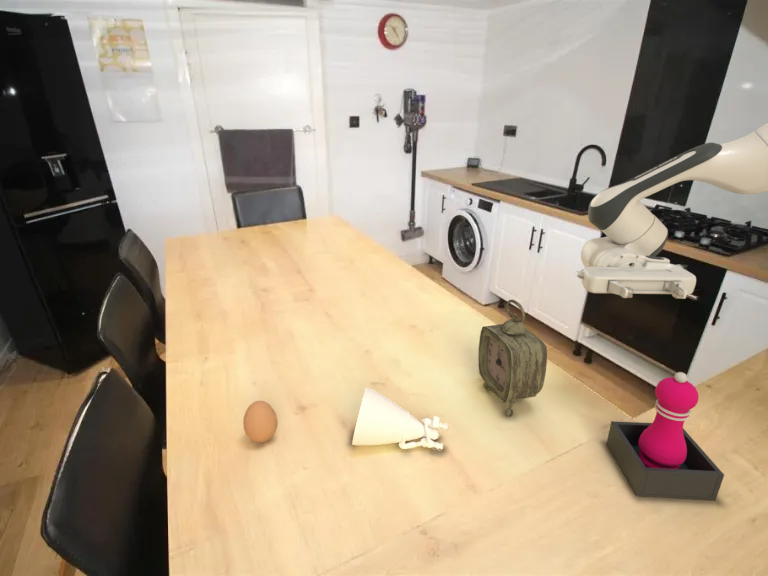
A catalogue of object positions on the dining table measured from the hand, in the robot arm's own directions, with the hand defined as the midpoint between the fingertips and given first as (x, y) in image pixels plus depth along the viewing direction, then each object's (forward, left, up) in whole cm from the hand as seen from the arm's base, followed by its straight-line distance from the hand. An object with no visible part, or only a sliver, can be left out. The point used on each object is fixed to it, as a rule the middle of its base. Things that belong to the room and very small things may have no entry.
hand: (655, 294), depth 76 cm
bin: (0, +12, -30) cm, 32 cm away
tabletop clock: (+23, -8, -30) cm, 39 cm away
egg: (+76, +9, -30) cm, 82 cm away
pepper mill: (0, +12, -29) cm, 32 cm away
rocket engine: (+48, +9, -30) cm, 57 cm away
